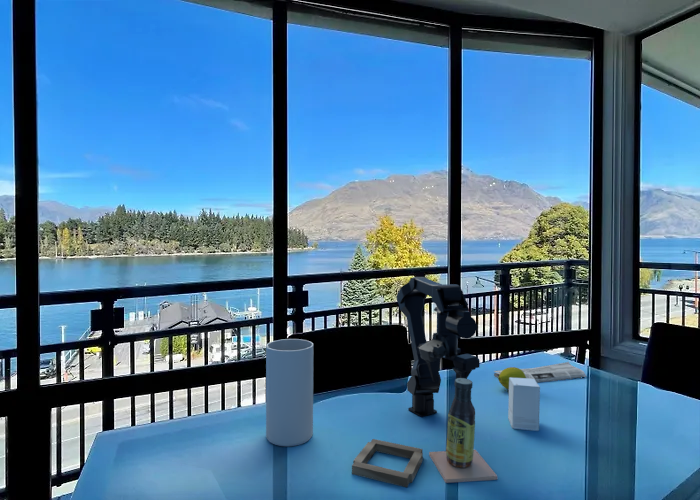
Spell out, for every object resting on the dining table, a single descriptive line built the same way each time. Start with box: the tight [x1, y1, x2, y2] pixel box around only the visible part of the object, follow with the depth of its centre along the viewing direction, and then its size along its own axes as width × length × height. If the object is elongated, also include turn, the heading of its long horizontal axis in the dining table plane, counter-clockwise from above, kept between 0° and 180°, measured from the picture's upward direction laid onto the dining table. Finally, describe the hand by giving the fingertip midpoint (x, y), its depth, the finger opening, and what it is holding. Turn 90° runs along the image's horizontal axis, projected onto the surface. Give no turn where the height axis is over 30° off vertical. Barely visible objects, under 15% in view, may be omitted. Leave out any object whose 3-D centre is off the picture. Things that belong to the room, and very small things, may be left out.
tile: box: [428, 449, 498, 484], centre depth 102 cm, size 12×12×1 cm
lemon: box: [497, 366, 526, 390], centre depth 153 cm, size 11×8×8 cm
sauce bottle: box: [445, 378, 476, 468], centre depth 102 cm, size 7×6×20 cm
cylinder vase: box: [265, 338, 314, 447], centre depth 116 cm, size 12×12×25 cm
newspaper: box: [493, 361, 587, 384], centre depth 168 cm, size 35×12×4 cm, turn 105°
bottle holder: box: [351, 438, 424, 488], centre depth 102 cm, size 14×14×2 cm
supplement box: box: [507, 378, 541, 432], centre depth 125 cm, size 7×7×13 cm
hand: (446, 386), depth 119 cm, fingers open, 9 cm apart
